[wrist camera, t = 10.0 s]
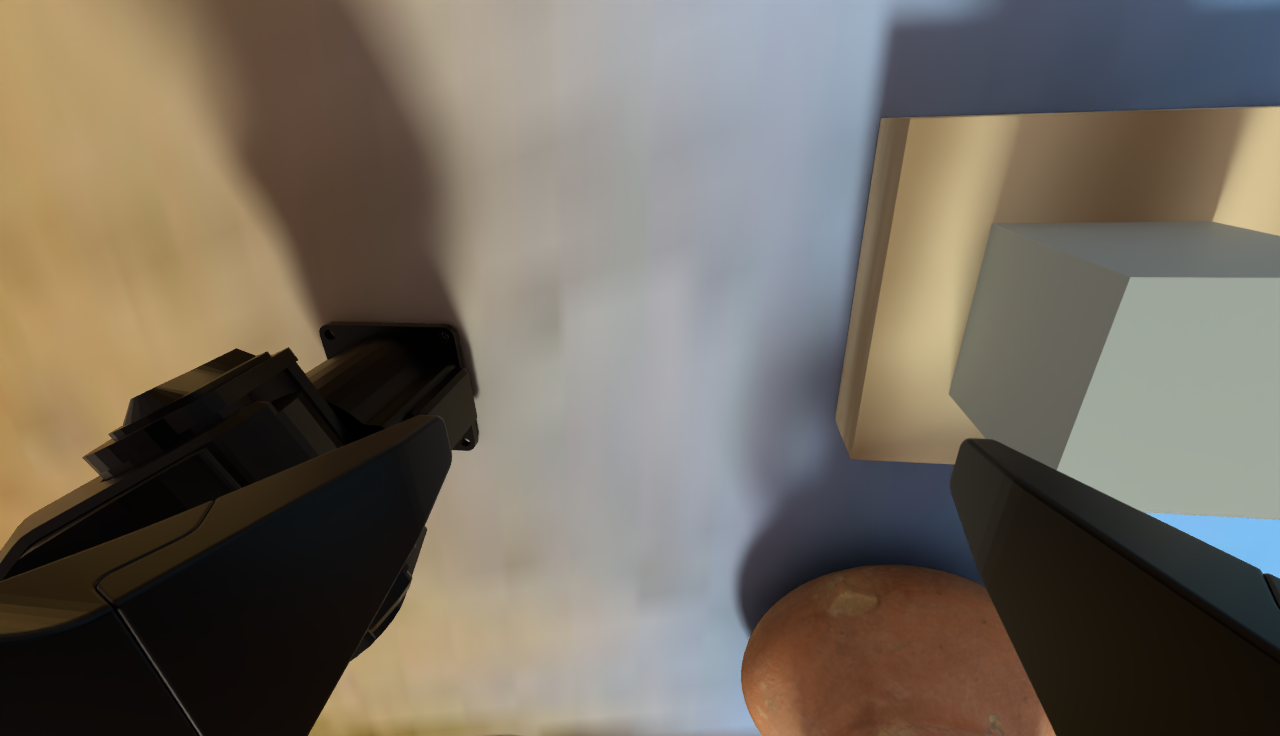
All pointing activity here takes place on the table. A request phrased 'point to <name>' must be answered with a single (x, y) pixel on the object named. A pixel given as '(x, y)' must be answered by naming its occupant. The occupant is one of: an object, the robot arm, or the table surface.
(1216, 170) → the birch board
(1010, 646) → the ceramic jug
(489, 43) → the table surface
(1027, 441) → the gray cube
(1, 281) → the table surface
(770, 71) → the table surface
